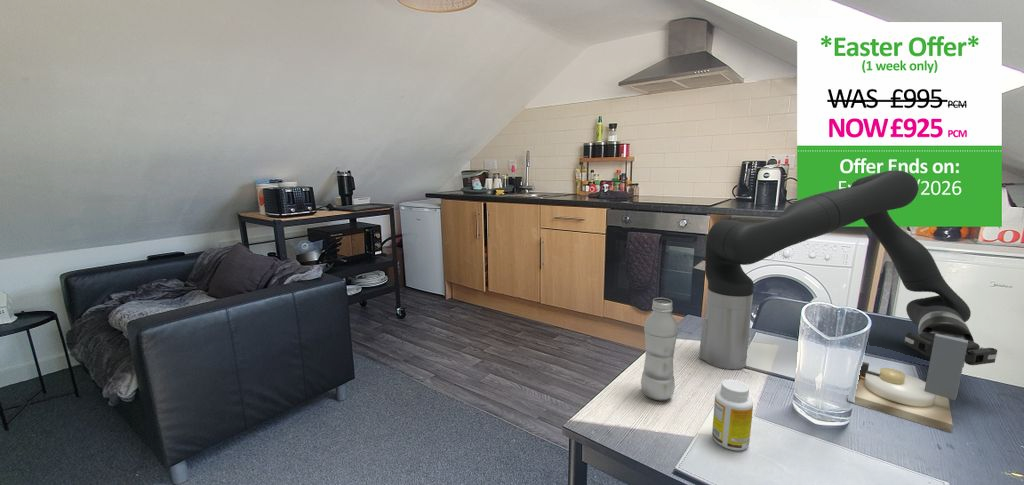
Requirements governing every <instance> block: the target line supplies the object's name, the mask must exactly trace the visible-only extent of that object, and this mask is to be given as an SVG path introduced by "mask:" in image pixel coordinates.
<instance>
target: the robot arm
mask: <svg viewBox="0 0 1024 485" xmlns="http://www.w3.org/2000/svg"><path fill="white" fill-rule="evenodd" d="M918 193H919V183H918V181H917V179H916V177H914V175H913V174H911V173H909V172H907V171H903V170H898V169H894V170H893V169H891V170H885V171H883V172H878V173H874V174H870V175H867V176H863V177H860V178H858V179H856V180H854V181H853V182H852V183H851V185H850V186H848V187H843V188H838V189H834V190H829V191H825V192H820V193H817V194H813V195H809V196H806V197H804V198H801V199H799V200H795V201H794V202H792V203H791V204H789V205H788V206H787V207H786V208H785V209H784V210H783V212H782V213H781V214H780V216H778V217H775V218H772V219H769V220H766V221H765V220H764V221H761V222H745V221H739V220H733V219H721V220H719V221H716V222H715V223H714V224H713V225H712V226H711V227H710V228H709V230H708V233H707V236H706V240H705V264H704V266H705V267H704V270H705V271H704V273H705V278H706V280H707V292H706V295H707V296H706V304H705V306H706V307H705V318H704V319H702V321H701V331H700V343H699V355H698V356H699V357H698V358H699V359H700V360H703V361H705V362H706V363H707V364H709V365H711V366H714V367H717V368H719V369H726V370H741V369H743V368H745V367H746V365H747V359H748V348H749V347H748V346H749V337H750V326H751V318H752V317H751V316H752V307H753V298H754V297H753V296H754V291H755V290H754V289H755V284H754V281H753V279H752V278H751V277H750V276H749V275H747V273H745V271H744V269H743V267H742V266H747V265H753V264H756V263H758V262H760V261H762V260H764V259H766V258H769V257H770V256H773V255H775V254H776V253H778V252H780V251H782V250H784V249H786V248H789V247H791V246H794V245H798V244H801V243H803V242H806V241H808V240H810V239H814V238H818V237H820V236H823V235H826V234H829V233H831V232H832V233H833V232H834V231H837V230H838V229H842V228H843V227H846V226H848V225H851V224H855V223H856V222H857V221H860V220H863V221H864V223H865V224H866V225H867V227H868V229H870V231H871V233H872V234H873V235H874V236H875V238H876V239H877V240H878V241H879V243H880V244H881V245H882V247H883V248H884V250H885V252H886V253H887V254H888V257H889V258H890V260H891V262H892V264H893V266H894V268H895V271H896V272H897V274H898V276H899V278H900V280H901V282H902V285H903V286H904V288H905V289H906V290H908V291H909V292H916V293H933V294H934V293H935V294H937V295H931V296H928V297H927V296H926V297H923V298H922V297H921V298H916V299H912V300H911V301H908V303H907V304H906V313H907V314H906V315H907V316H908V318H909V319H910V321H911V322H912V323H913V324H914V325H915V326H917V328H918V329H917V332H918V334H915V333H913V332H906V333H905V338H904V345H905V346H907V347H910V349H913V350H915V351H916V352H919V353H921V354H923V355H925V356H927V357H930V358H931V353H932V348H933V343H934V338H935V335H936V334H941V335H945V336H950V337H954V338H959V339H964V340H968V345H967V349H966V354H965V359H964V364H963V368H964V366H965V364H966V365H968V366H979V365H985V364H993V363H995V362H996V358H997V355H998V349H996V348H994V347H981V346H980V345H979V343H976V342H975V341H974V337H973V335H972V332H971V331H970V329H969V326H968V325H967V323H966V322H968V321H969V320H970V318H971V315H972V314H971V312H972V311H971V308H970V307H969V305H968V303H967V302H965V300H964V299H963V298H962V297H961V296H960V295H959V294H957V293H956V292H955V291H954V289H952V287H951V286H950V285H949V284H948V283H947V281H946V280H945V279H944V277H943V275H942V273H941V271H940V269H939V267H938V266H937V263H936V262H935V259H934V257H933V255H932V254H931V253H930V250H928V249H927V248H926V247H925V245H923V244H922V243H921V242H920V241H918V240H917V239H916V238H914V237H913V236H912V235H910V234H909V233H908V232H906V231H905V230H903V229H902V228H901V227H900V226H899V225H898V224H897V223H896V222H895V221H894V220H893V218H892V216H890V213H889V212H888V211H893V210H898V209H902V208H904V207H907V206H908V205H910V204H911V203H912V202H913V201H914V200H915V198H916V197H917V195H918Z"/></svg>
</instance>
